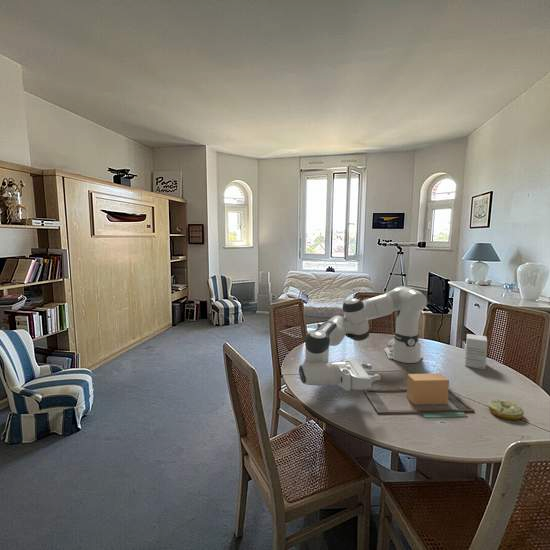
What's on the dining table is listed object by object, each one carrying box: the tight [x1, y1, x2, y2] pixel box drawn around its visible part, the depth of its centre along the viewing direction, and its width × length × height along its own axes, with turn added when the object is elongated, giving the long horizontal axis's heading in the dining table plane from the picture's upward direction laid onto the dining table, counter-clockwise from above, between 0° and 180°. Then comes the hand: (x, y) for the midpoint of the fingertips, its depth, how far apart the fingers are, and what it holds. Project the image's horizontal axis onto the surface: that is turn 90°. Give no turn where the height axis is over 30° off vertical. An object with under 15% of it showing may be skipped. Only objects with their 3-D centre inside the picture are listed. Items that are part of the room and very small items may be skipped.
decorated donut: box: [487, 399, 525, 421], centre depth 120 cm, size 10×11×4 cm
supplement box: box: [464, 333, 488, 370], centre depth 165 cm, size 9×9×15 cm
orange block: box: [405, 373, 450, 405], centre depth 130 cm, size 6×14×10 cm, turn 91°
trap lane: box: [363, 385, 476, 419], centre depth 130 cm, size 24×37×1 cm, turn 91°
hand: (375, 371), depth 126 cm, fingers open, 8 cm apart
